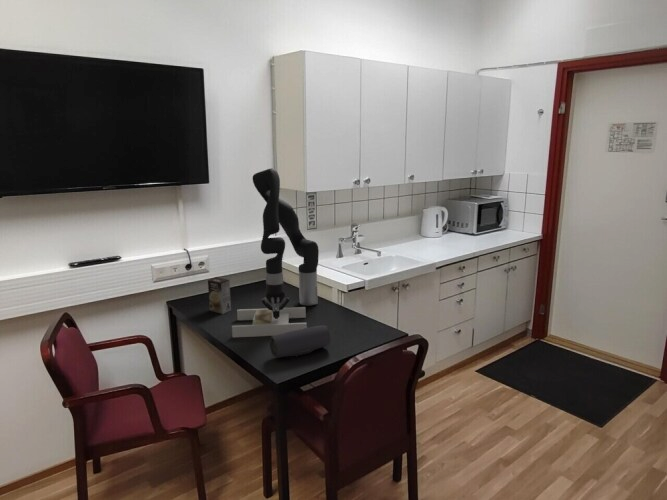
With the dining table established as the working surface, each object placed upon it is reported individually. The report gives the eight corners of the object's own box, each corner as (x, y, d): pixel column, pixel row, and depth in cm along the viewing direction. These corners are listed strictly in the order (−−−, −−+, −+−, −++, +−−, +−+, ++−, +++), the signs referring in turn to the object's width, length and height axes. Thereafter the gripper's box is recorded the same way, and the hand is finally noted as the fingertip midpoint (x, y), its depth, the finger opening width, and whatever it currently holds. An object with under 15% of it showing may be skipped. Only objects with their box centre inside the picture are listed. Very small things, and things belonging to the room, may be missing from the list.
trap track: (305, 316, 223) (305, 306, 221) (306, 334, 203) (306, 323, 202) (237, 319, 220) (237, 309, 219) (232, 337, 201) (231, 326, 199)
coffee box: (209, 310, 231) (206, 280, 227) (218, 306, 237) (216, 276, 233) (222, 314, 227) (220, 282, 223) (231, 310, 232) (229, 279, 228)
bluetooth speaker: (320, 342, 195) (320, 320, 192) (331, 351, 187) (331, 328, 184) (269, 355, 184) (268, 331, 182) (278, 365, 176) (277, 340, 174)
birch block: (272, 317, 214) (271, 309, 213) (271, 322, 208) (270, 314, 207) (256, 318, 214) (256, 310, 213) (255, 323, 208) (254, 315, 207)
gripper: (289, 278, 211) (291, 314, 215) (260, 279, 210) (262, 315, 214) (289, 283, 203) (291, 320, 207) (259, 284, 202) (261, 322, 206)
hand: (276, 318), depth 211 cm, fingers closed
